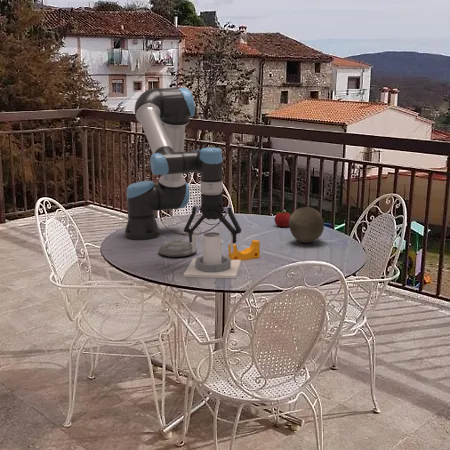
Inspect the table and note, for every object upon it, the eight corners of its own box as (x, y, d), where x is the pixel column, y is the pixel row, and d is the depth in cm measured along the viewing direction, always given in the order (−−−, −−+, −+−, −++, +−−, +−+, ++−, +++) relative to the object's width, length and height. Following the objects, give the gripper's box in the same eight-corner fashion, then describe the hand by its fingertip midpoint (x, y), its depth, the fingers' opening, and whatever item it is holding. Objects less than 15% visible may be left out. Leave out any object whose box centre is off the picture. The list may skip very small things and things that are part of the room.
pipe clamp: (253, 254, 227) (253, 238, 225) (259, 257, 223) (259, 241, 222) (226, 259, 222) (226, 243, 220) (232, 262, 218) (231, 246, 216)
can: (219, 270, 206) (218, 237, 203) (201, 269, 207) (200, 236, 204) (223, 264, 212) (222, 232, 209) (205, 263, 213) (204, 231, 210)
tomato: (271, 226, 268) (271, 211, 267) (280, 223, 275) (280, 208, 273) (287, 229, 264) (287, 213, 262) (295, 225, 270) (295, 210, 269)
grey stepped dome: (161, 261, 221) (161, 247, 220) (155, 250, 236) (155, 237, 234) (200, 257, 225) (200, 243, 224) (192, 247, 239) (192, 234, 238)
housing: (183, 277, 202) (183, 267, 202) (193, 261, 220) (192, 252, 219) (235, 278, 200) (235, 268, 199) (241, 262, 217) (240, 253, 217)
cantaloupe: (290, 238, 249) (290, 203, 246) (324, 239, 246) (325, 204, 243) (287, 247, 236) (287, 210, 232) (322, 248, 233) (323, 211, 229)
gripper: (174, 194, 201) (176, 253, 206) (246, 195, 198) (246, 255, 203) (178, 190, 208) (180, 247, 214) (248, 191, 205) (248, 249, 210)
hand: (212, 251), depth 208 cm, fingers open, 13 cm apart
